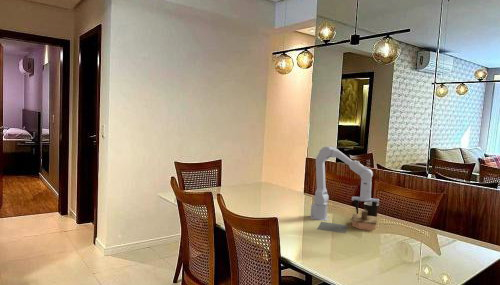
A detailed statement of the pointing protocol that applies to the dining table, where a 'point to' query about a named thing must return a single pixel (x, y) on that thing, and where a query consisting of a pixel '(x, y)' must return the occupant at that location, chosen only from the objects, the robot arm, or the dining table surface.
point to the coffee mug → (370, 209)
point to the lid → (364, 218)
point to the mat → (332, 227)
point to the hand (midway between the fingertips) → (364, 214)
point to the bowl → (363, 226)
